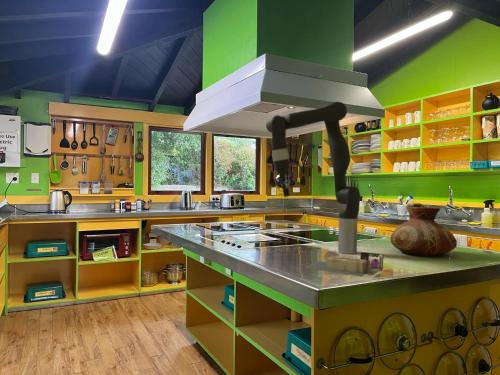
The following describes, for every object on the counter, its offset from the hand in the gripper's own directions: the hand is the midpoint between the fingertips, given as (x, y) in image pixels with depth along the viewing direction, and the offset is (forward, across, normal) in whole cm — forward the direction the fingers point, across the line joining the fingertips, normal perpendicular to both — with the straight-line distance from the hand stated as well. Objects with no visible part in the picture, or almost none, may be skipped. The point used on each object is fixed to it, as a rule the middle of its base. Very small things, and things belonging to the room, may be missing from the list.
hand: (286, 196), depth 174 cm
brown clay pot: (+40, +49, -44) cm, 77 cm away
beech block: (+28, -12, -22) cm, 37 cm away
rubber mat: (+31, -12, -25) cm, 42 cm away
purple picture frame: (+34, -2, -35) cm, 49 cm away
